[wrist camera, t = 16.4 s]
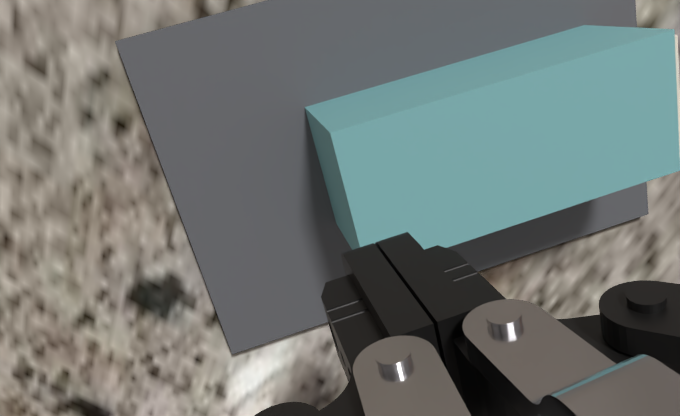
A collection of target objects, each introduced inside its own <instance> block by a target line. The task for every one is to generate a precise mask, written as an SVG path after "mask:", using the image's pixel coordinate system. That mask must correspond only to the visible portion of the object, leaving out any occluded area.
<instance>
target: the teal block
mask: <svg viewBox="0 0 680 416" xmlns="http://www.w3.org/2000/svg"><path fill="white" fill-rule="evenodd" d="M305 111H306V114H307V118H308V121H309V125H310V129H311V132H312V136H313V140H314V143H315V147H316V151H317V154H318V158H319V162H320V165H321V169H322V173H323V176H324V180H325V184H326V187H327V191H328V195H329V198H330V202H331V206H332V209H333V213H334V217H335V220H336V224H337V226H338V227H339V229H340V230H341V232H342V234H343V235H344V237H345V239H346V240H347V242H348V244H349V245H350V247H351V249H352V250H353V249H356V248H359V247H363V246H366V245H369V244H372V243H374V244H375V242H378V241H381V240H384V239H387V238H390V237H393V236H396V235H399V234H402V233H405V232H408V233H409V234H410V235H411V236H412V237H413V238H414V239H415V240H416V241H417V242H418V243H419V244H420V245H421V247H422V248H423V249H424V250H425V249H428V248H431V247H434V246H437V245H439V246H442V247H444V248H447V247H450V246H454V245H457V244H460V243H463V242H466V241H469V240H472V239H475V238H478V237H481V236H484V235H487V234H490V233H493V232H496V231H499V230H502V229H505V228H508V227H511V226H514V225H517V224H520V223H523V222H526V221H529V220H532V219H535V218H538V217H541V216H544V215H547V214H550V213H553V212H556V211H559V210H562V209H565V208H568V207H571V206H574V205H577V204H580V203H583V202H586V201H589V200H592V199H595V198H598V197H601V196H604V195H607V194H610V193H613V192H616V191H619V190H623V189H626V188H629V187H632V186H635V185H638V184H641V183H644V182H647V181H650V180H653V179H656V178H659V177H662V176H665V175H668V174H671V173H674V172H677V171H680V86H679V61H678V35H675V32H674V29H655V28H635V27H615V26H595V25H583V26H579V27H576V28H573V29H569V30H566V31H562V32H559V33H556V34H552V35H549V36H545V37H542V38H539V39H535V40H532V41H528V42H525V43H521V44H518V45H515V46H511V47H508V48H504V49H501V50H498V51H494V52H491V53H487V54H484V55H481V56H477V57H474V58H470V59H467V60H464V61H460V62H457V63H453V64H450V65H447V66H443V67H440V68H436V69H433V70H430V71H426V72H423V73H419V74H416V75H413V76H409V77H406V78H402V79H399V80H396V81H392V82H389V83H385V84H382V85H379V86H375V87H372V88H368V89H365V90H362V91H358V92H355V93H351V94H348V95H344V96H341V97H338V98H334V99H331V100H327V101H324V102H321V103H317V104H314V105H310V106H307V107H305Z"/></svg>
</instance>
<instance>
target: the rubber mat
mask: <svg viewBox="0 0 680 416" xmlns="http://www.w3.org/2000/svg"><path fill="white" fill-rule="evenodd" d="M583 25H595V26H615V27H635V28H637V22H636V5H635V0H267V1H263V2H259V3H256V4H252V5H248V6H244V7H241V8H237V9H233V10H230V11H226V12H222V13H218V14H215V15H211V16H207V17H203V18H200V19H196V20H192V21H189V22H185V23H181V24H177V25H174V26H170V27H166V28H163V29H159V30H155V31H151V32H148V33H144V34H140V35H136V36H133V37H129V38H125V39H122V40H118V41H115V42H116V45H117V48H118V50H119V53H120V56H121V58H122V61H123V64H124V67H125V69H126V72H127V75H128V77H129V80H130V83H131V85H132V88H133V91H134V93H135V96H136V99H137V101H138V104H139V107H140V109H141V112H142V115H143V117H144V120H145V123H146V125H147V128H148V131H149V133H150V136H151V139H152V141H153V144H154V147H155V149H156V152H157V155H158V157H159V160H160V163H161V165H162V168H163V171H164V173H165V176H166V179H167V181H168V184H169V187H170V189H171V192H172V195H173V197H174V200H175V203H176V205H177V208H178V211H179V213H180V216H181V219H182V221H183V224H184V227H185V229H186V232H187V235H188V237H189V240H190V243H191V245H192V248H193V251H194V253H195V256H196V259H197V262H198V264H199V267H200V270H201V272H202V275H203V278H204V280H205V283H206V286H207V288H208V291H209V294H210V296H211V299H212V302H213V304H214V307H215V310H216V312H217V315H218V318H219V320H220V323H221V326H222V328H223V331H224V334H225V336H226V339H227V342H228V344H229V347H230V350H231V352H232V354H235V353H238V352H241V351H243V350H246V349H249V348H252V347H255V346H258V345H261V344H264V343H267V342H270V341H273V340H276V339H279V338H282V337H285V336H288V335H291V334H294V333H297V332H300V331H303V330H306V329H309V328H312V327H315V326H318V325H321V324H324V323H327V322H328V319H327V316H326V312H325V309H324V306H323V302H322V299H321V295H322V292H323V289H324V286H325V283H326V282H328V281H331V280H334V279H337V278H340V277H343V276H346V274H345V270H344V266H343V262H342V258H341V253H344V252H347V251H350V250H352V249H351V247H350V245H349V244H348V242H347V240H346V239H345V237H344V235H343V234H342V232H341V230H340V229H339V227H338V226H337V224H336V220H335V217H334V213H333V209H332V206H331V202H330V198H329V195H328V191H327V187H326V184H325V180H324V176H323V173H322V169H321V165H320V162H319V158H318V154H317V151H316V147H315V143H314V140H313V136H312V132H311V129H310V125H309V121H308V118H307V114H306V111H305V107H307V106H310V105H314V104H317V103H321V102H324V101H327V100H331V99H334V98H338V97H341V96H344V95H348V94H351V93H355V92H358V91H362V90H365V89H368V88H372V87H375V86H379V85H382V84H385V83H389V82H392V81H396V80H399V79H402V78H406V77H409V76H413V75H416V74H419V73H423V72H426V71H430V70H433V69H436V68H440V67H443V66H447V65H450V64H453V63H457V62H460V61H464V60H467V59H470V58H474V57H477V56H481V55H484V54H487V53H491V52H494V51H498V50H501V49H504V48H508V47H511V46H515V45H518V44H521V43H525V42H528V41H532V40H535V39H539V38H542V37H545V36H549V35H552V34H556V33H559V32H562V31H566V30H569V29H573V28H576V27H579V26H583ZM647 214H648V200H647V184H646V182H644V183H641V184H638V185H635V186H632V187H629V188H626V189H623V190H619V191H616V192H613V193H610V194H607V195H604V196H601V197H598V198H595V199H592V200H589V201H586V202H583V203H580V204H577V205H574V206H571V207H568V208H565V209H562V210H559V211H556V212H553V213H550V214H547V215H544V216H541V217H538V218H535V219H532V220H529V221H526V222H523V223H520V224H517V225H514V226H511V227H508V228H505V229H502V230H499V231H496V232H493V233H490V234H487V235H484V236H481V237H478V238H475V239H472V240H469V241H466V242H463V243H460V244H457V245H454V246H450V247H447V249H450V250H453V251H456V252H457V253H458V254H459V255H460V256H462V257H463V258H464V259H465V260H466V261H467V262H468V265H471V266H472V267H473V268H474V269H475V270H476V271H477V272H478V271H481V270H484V269H487V268H490V267H493V266H496V265H499V264H502V263H505V262H508V261H511V260H514V259H517V258H520V257H522V256H525V255H528V254H531V253H534V252H537V251H540V250H543V249H546V248H549V247H552V246H555V245H558V244H561V243H564V242H567V241H570V240H573V239H576V238H579V237H582V236H585V235H588V234H591V233H594V232H597V231H600V230H603V229H606V228H609V227H612V226H614V225H617V224H620V223H623V222H626V221H629V220H632V219H635V218H638V217H641V216H644V215H647Z"/></svg>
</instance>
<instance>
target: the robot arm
mask: <svg viewBox="0 0 680 416" xmlns="http://www.w3.org/2000/svg"><path fill="white" fill-rule="evenodd" d="M341 258H342V262H343V266H344V270H345V274H346V276H343V277H340V278H337V279H334V280H331V281H328V282H326V283H325V286H324V289H323V292H322V295H321V299H322V302H323V306H324V309H325V312H326V316H327V319H328V323H329V326H330V329H331V333H332V336H333V340H334V343H335V347H336V350H337V353H338V357H339V359H340V362H341V364H342V366H343V369H344V371H345V374H346V376H347V379H348V381H349V383H348V385H347V387H346V388H345V390H344V391H343V392H342V394H341V395H340V396H339V397H338V398H337V399H335V400H334V401H333V402H332V403H330V404H329V405H328V406H326V407H325V408H323V409H321V410H320V411H318V410H317V409H316V408H315V407H313V406H311V405H309V404H305V403H301V402H288V403H282V404H278V405H274V406H271V407H269V408H267V409H265V410H263V411H261V412H259V413H258V414H256V415H255V416H680V284H674V283H666V282H659V281H632V282H626V283H622V284H619V285H616V286H614V287H612V288H610V289H608V290H607V291H606V292H605V293H604V294H603V295H602V296H601V298H600V300H599V310H600V315H593V316H585V317H578V318H570V319H555V318H554V317H553V316H551V315H550V314H548V313H547V312H546V311H544V310H543V309H542V308H540V307H539V306H537V305H535V304H533V303H531V302H527V301H523V300H515V299H505V298H504V297H503V296H502V295H501V294H500V293H499V292H498V291H497V290H496V289H495V288H494V287H493V286H492V285H491V284H490V283H489V282H488V281H487V280H486V279H485V278H483V277H482V276H481V275H480V274H478V273H477V271H476V270H475V269H474V268H473V267H472V266H471V265H468V262H467V261H466V260H465V259H464V258H463V257H462V256H460V255H459V254H458V253H457V252H456V251H453V250H450V249H447V248H444V247H442V246H439V245H437V246H434V247H431V248H428V249H425V250H424V249H423V248H422V247H421V245H420V244H419V243H418V242H417V241H416V240H415V239H414V238H413V237H412V236H411V235H410V234H409V233H408V232H405V233H402V234H399V235H396V236H393V237H390V238H387V239H384V240H381V241H378V242H375V244H374V243H372V244H369V245H366V246H363V247H359V248H356V249H353V250H350V251H347V252H344V253H341Z"/></svg>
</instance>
